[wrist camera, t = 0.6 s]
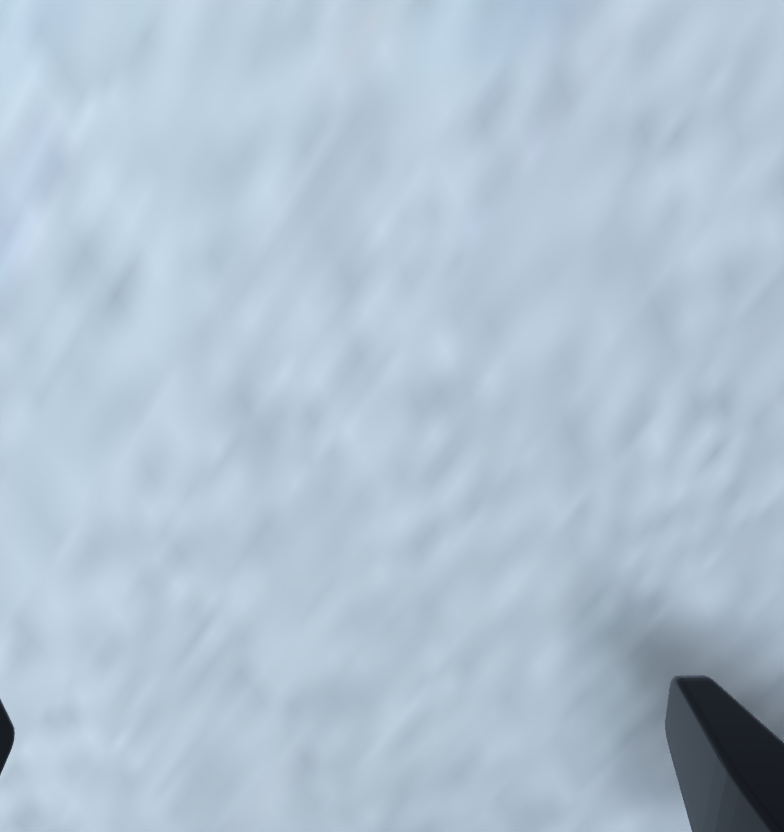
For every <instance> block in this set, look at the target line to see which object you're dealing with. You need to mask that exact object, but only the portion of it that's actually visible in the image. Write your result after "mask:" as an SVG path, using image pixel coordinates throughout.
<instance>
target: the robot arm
mask: <svg viewBox="0 0 784 832" xmlns="http://www.w3.org/2000/svg"><path fill="white" fill-rule="evenodd" d="M665 730H666V737H667V742H668V745H669V749H670V753H671V756H672V760H673V764H674V767H675V771H676V775H677V778H678V782H679V785H680V789H681V793H682V796H683V800H684V804H685V807H686V811H687V815H688V818H689V822H690V825H691V829H692V832H784V743H783V742H782V741H781V740H780V739H779V738H778V737H777V736H775V735H774V734H773V733H772V732H771V731H770V730H769V729H768V728H766V727H765V726H764V725H763V724H762V723H761V722H760V721H759V720H757V719H756V718H755V717H754V716H753V715H752V714H751V713H750V712H748V711H747V710H746V709H745V708H744V707H743V706H742V705H741V704H740V703H738V702H737V701H736V700H735V699H734V698H733V697H732V696H731V695H729V694H728V693H727V692H726V691H725V690H724V689H723V688H722V687H720V686H719V685H718V684H717V683H716V682H715V681H714V680H712V679H711V678H709V677H707V676H703V675H686V676H675V677H674V678H673V679H672V681H671V684H670V690H669V697H668V704H667V712H666V719H665ZM14 735H15V732H14V727H13V724H12V722H11V720H10V718H9V716H8V714H7V712H6V710H5V708H4V706H3V703H2V701H1V699H0V774H1V772H2V770H3V767H4V765H5V763H6V760H7V758H8V756H9V753H10V751H11V749H12V746H13V742H14Z"/></svg>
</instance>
